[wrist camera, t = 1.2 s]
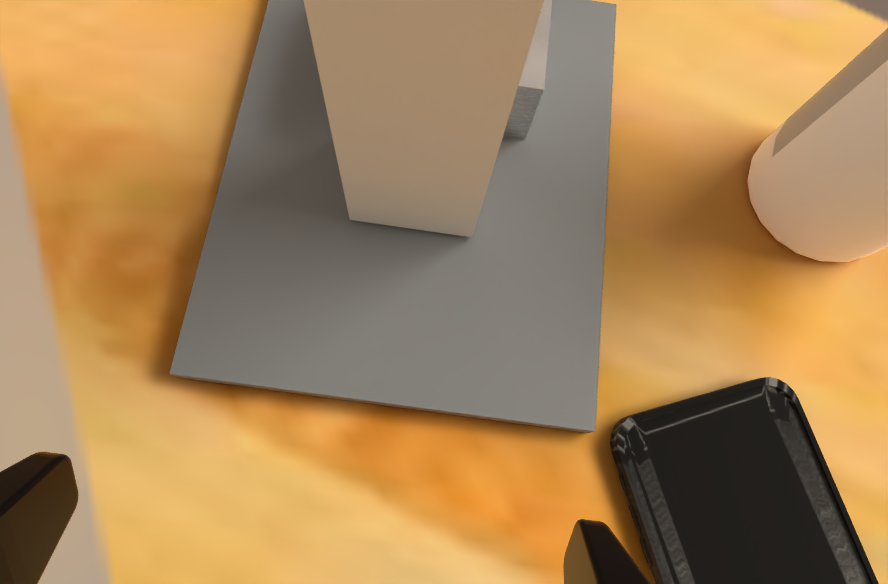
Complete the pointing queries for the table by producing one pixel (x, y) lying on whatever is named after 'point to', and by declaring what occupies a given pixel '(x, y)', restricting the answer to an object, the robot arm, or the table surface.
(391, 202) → the tall rectangular pillar
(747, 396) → the phone
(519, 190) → the base board
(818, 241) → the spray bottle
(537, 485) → the table surface
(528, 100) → the friction collar
